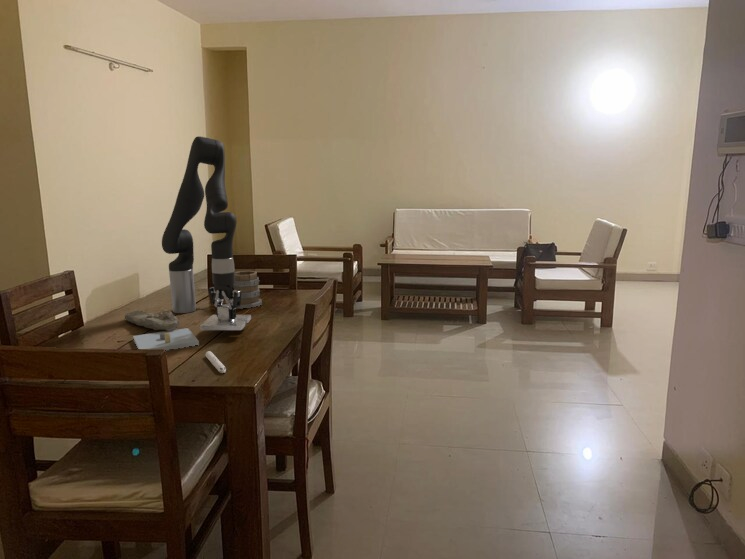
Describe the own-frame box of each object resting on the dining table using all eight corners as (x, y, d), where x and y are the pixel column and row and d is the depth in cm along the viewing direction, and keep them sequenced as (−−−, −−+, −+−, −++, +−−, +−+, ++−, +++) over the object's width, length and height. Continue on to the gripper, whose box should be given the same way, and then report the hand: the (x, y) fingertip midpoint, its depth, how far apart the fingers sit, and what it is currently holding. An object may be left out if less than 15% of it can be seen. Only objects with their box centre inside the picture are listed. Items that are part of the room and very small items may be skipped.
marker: (228, 374, 155) (227, 366, 155) (220, 376, 154) (220, 368, 154) (212, 356, 170) (211, 349, 170) (205, 358, 169) (204, 350, 169)
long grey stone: (143, 319, 220) (118, 325, 213) (141, 306, 219) (116, 312, 212) (187, 326, 196) (160, 333, 189) (185, 311, 195) (158, 318, 188)
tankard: (267, 303, 237) (265, 269, 234) (246, 310, 227) (244, 274, 224) (234, 298, 248) (232, 265, 245) (212, 304, 237) (210, 270, 234)
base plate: (133, 340, 188) (132, 327, 187) (188, 332, 196) (187, 319, 196) (140, 354, 172) (138, 341, 172) (199, 345, 181) (198, 332, 180)
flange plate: (200, 330, 187) (199, 311, 186) (212, 319, 201) (211, 301, 200) (241, 330, 187) (240, 311, 186) (251, 318, 201) (250, 301, 199)
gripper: (246, 270, 189) (249, 318, 193) (216, 267, 197) (219, 313, 200) (230, 274, 183) (233, 323, 187) (200, 270, 191) (203, 317, 194)
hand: (226, 317), depth 193 cm, fingers closed on flange plate, 5 cm apart
